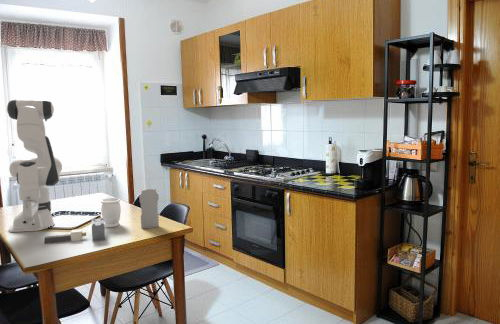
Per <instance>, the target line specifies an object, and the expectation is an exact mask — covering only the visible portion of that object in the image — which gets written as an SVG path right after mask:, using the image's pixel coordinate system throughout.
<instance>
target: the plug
mask: <svg viewBox="0 0 500 324" xmlns="http://www.w3.org/2000/svg"><path fill="white" fill-rule="evenodd" d="M84 237H87V232H86V231H85V232H83V228H80V229H79V228H78V229H72V230H70V233H68V234H58V235H57V234H56V235H48V236H47V235H46V236H44V238H43V240H44V241H43V242H44V244H54V243H55V244H56V243H64V242H77V241H83V238H84Z"/></svg>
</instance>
